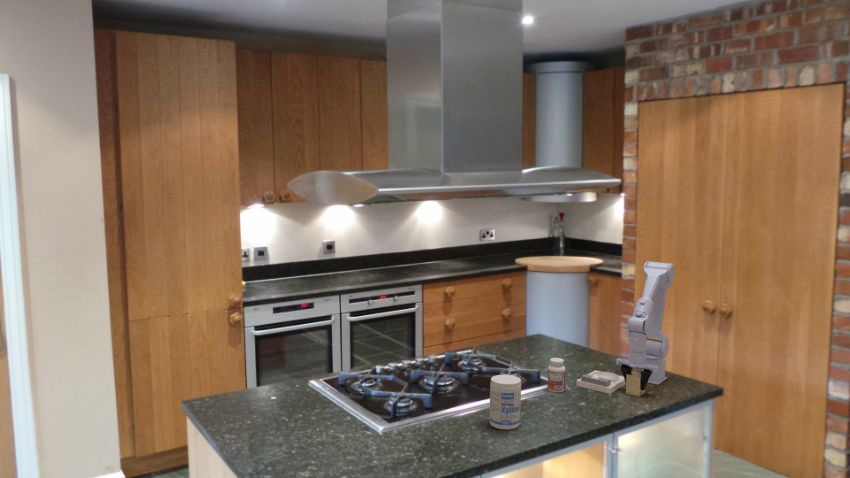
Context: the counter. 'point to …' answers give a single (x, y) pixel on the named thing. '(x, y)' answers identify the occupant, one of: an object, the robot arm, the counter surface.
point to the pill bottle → (556, 375)
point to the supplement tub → (505, 401)
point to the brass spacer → (634, 384)
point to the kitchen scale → (601, 381)
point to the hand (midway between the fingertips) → (635, 387)
